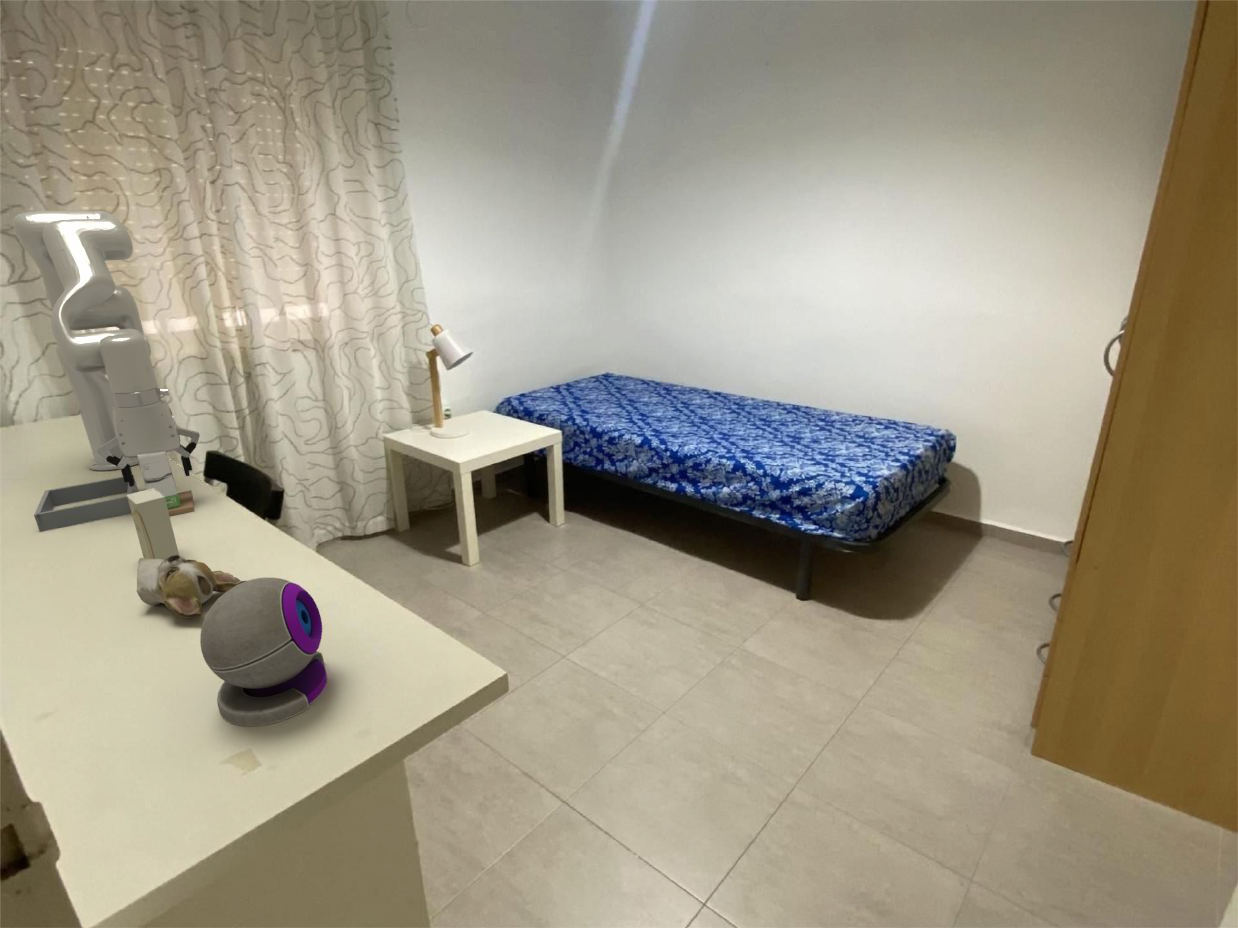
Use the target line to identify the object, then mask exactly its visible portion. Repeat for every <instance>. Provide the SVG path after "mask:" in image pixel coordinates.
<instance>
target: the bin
mask: <svg viewBox="0 0 1238 928" xmlns="http://www.w3.org/2000/svg"><path fill="white" fill-rule="evenodd" d="M133 478H134V481H135V483H134V486H133V487H130V485H129V482H124V478H123V476H119V477H118V476H117V477H112V478H107V479H102V480H97V481H90V482H84V483H80V484H74V485H73V484H72V485H69V486H63V487H57V488H53V489H46V490H44V492H43V494H42V496H41V499H40V501H39V503H38V506H37V508H36V510H35V512H34V514H33V517H34V518H35V519H34V520H35V522H36V525H37V527H38V528H37V529H38V530H39V532H45V531H49V530H50V531H51V530H55V529H60V528H64V527H65V528H66V527H70V526H74V525H79V524H84V523H91V522H94V521H99V520H104V519H111V518H114V517H115V518H116V517H119V516H124V515H128V514H129V515H130V514H132V513H131V509H130V506H129V502H128V499H127V494H132V493H136V492H139V488H138V485H137V481H136V478H135V475H134V474H133ZM125 493H126V496H121V497H116V498H110V499H107V500H106V499H104V500H100V501H95V502H89V503H83V504H80V505H75V506H69V507H63V508H58V509H54V508H55V507H56V506H61V505H68V504H73V503H78V502H83V501H89V500H94V499H99V498H104V497H109V496H116V495H121V494H125Z"/></svg>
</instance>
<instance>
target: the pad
mask: <svg viewBox="0 0 1238 928" xmlns="http://www.w3.org/2000/svg"><path fill="white" fill-rule="evenodd" d="M192 492H193V491H192V490H191V489H190V490H185V491H180V492H178V496H179V500H180V504H181V506H178V507H174V508H169V509H168V512H169V516H170V517H174V516H177V515H181V514H186V513H192V512H195V507H194V506H195V505H194V499H193V498H194V497H193V493H192Z"/></svg>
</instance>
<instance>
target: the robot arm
mask: <svg viewBox="0 0 1238 928" xmlns="http://www.w3.org/2000/svg"><path fill="white" fill-rule="evenodd" d="M12 222H13V224H12V225H13V231H14V232H15V235H16V237H17V240H18V241H19V243H20V244H21V246H22V247H23V249H24V251H26V253H28V256H30V258H31V259H32V260H33V262H34V263H35V264H36V266H37V268H38V270H39V272H40V275H41V277H42V281H43V285H44V288H45V291H46V294H47V297H48V298H47V299H48V301H49V304H50V307H51V316H50V326H51V329H52V330H51V331H52V334H53V337H54V339H55V342H56V344H57V346H56V349H55V353H56V356H57V358H58V361H59V364H60V366H61V367H62V369H63V371H64V373H65V375H66V377H67V379H68V382H69V384H70V387H71V389H72V392H73V395H74V399H75V401H76V404H77V406H78V407H77V408H78V411H79V414H80V417H81V420H82V423H83V426H84V429H85V432H86V435H87V439H88V443H89V445H90V450H91V452H92V455H93V459H90V460H89V461H88V462H87V467H88V468H89V469H90V470H92V471H93V470H94V471H113V470H119V469H120V472H121V474H122V477H123V478H124V482H129V485H130V487H133V486H134V483H135V481H136V480H135V481H134V478H135V477H134V478H133V475H134V474H133V471H132V468H131V467H133V466H135V465H139V461H138V457H137V455H138V454H144V453H152V452H161V451H165V452H166V453H168V452H169V453H170V452H172V451H173V452H174V451H175V452H176V453H178V454H179V455H180V460H181V464H182V468H183V471H184V475H185V477H190V471H193V466H192V462H191V459H190V456H191V454H192V453H193V451H194V450H195V449H196V448H197V445H198V443H199V439H200V437H201V435H200V432H198V431H197V430H196V431H195V430H190V429H187V428H182V427H178V426H177V424H176V420H175V418H174V415H173V412H172V409H171V407H170V405H169V403H168V402H167V399H166V400H165V399H163V397H167V396H169V395H170V393H169V389H168V388H161V387H159V385H158V382H157V379H156V375H155V370H154V367H153V363H152V359H151V355H152V350H151V345H150V343H149V339H148V338H147V336H146V335H145V334H144V330H143V324H142V322H141V317H140V313H139V309H138V306H137V303H136V300H135V298H134V296H133V294H132V293H131V291H130V290H128V289H127V287H124V286H122V285H116V284H115V280H114V279H113V276H112V274H111V271H110V270H109V268H108V265H107V263H106V261H120V260H128V259H130V258H131V257H132V255H133V252H134V247H133V241H132V238H131V236H130V234H129V232H128V229H127V228H126V226H125V225H124V224H123V223H122V222H121V221H120V220H119V219H118V218H117V217H116V216H114V215H112V214H111V213H109V212H107V211H106V210H34V211H28V212H27V211H26V212H23V213H20V214H17V215H16V216H15V217H14V218H13V221H12ZM105 328H106V329H107V328H117V329H115V330H101V331H94V332H93V331H92V332H85V333H84V332H83V333H77V334H75V333H74V332H73V331H87V330H97V329H105ZM180 436H184V437H187V438H190V441H189V442H188V444H186V446H184V445H182V444H181V437H180Z"/></svg>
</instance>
